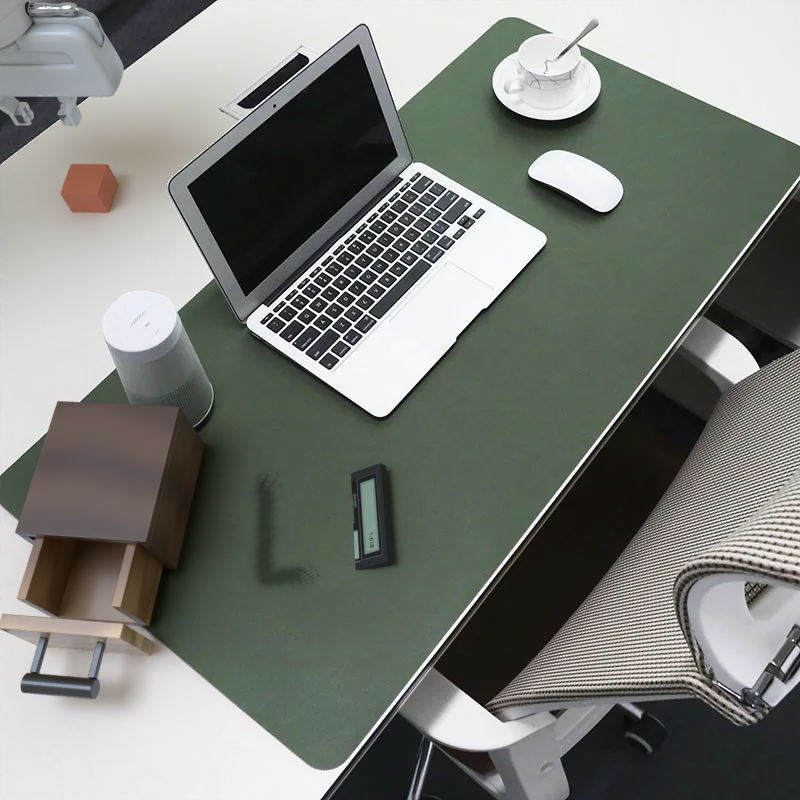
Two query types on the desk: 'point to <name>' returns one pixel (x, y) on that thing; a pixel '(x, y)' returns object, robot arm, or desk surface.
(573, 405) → the desk surface
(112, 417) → the cabinet
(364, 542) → the calculator
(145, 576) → the drawer
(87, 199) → the block
